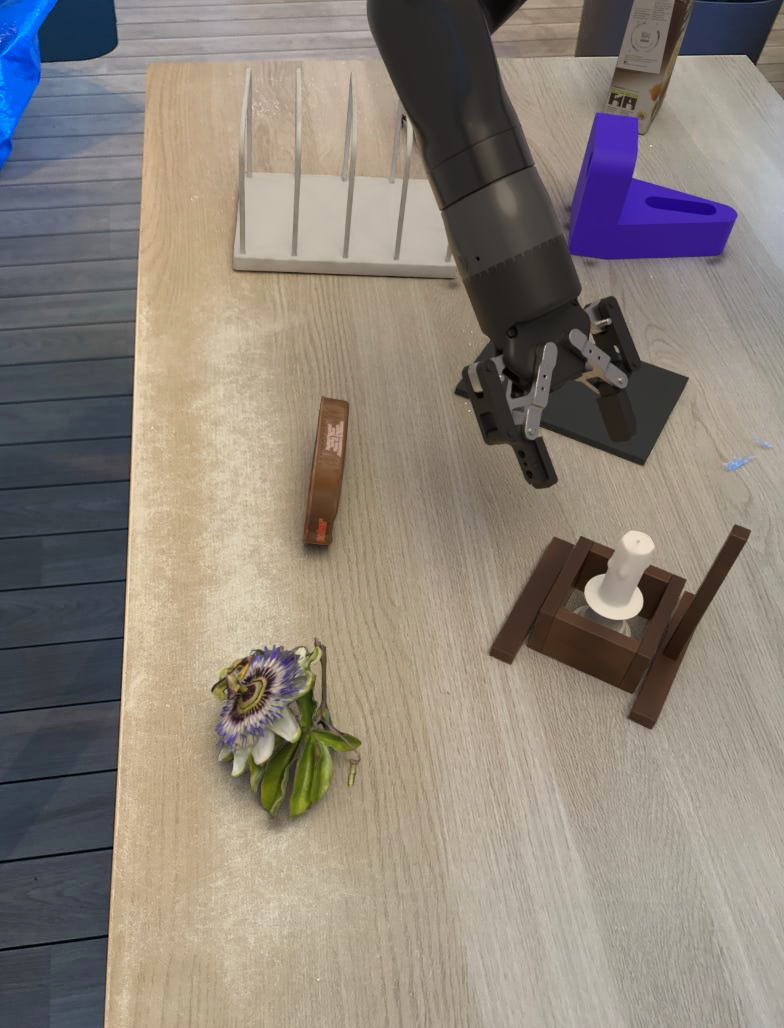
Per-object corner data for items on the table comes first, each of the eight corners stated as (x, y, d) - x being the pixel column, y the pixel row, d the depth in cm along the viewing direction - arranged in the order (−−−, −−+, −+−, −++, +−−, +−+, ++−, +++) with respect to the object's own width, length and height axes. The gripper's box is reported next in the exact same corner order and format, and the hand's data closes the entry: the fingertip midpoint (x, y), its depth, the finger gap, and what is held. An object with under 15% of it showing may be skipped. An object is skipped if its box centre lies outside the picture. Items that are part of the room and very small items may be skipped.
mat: (686, 383, 102) (689, 377, 102) (643, 466, 95) (646, 460, 95) (508, 319, 108) (509, 313, 107) (454, 393, 101) (455, 387, 100)
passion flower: (240, 767, 81) (217, 630, 77) (372, 758, 80) (356, 617, 76) (215, 840, 71) (187, 686, 67) (366, 831, 69) (347, 672, 65)
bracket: (567, 253, 115) (594, 154, 106) (571, 202, 121) (597, 104, 112) (725, 275, 113) (767, 177, 104) (721, 223, 120) (760, 125, 110)
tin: (314, 444, 96) (317, 374, 89) (346, 447, 96) (352, 377, 89) (299, 563, 87) (302, 496, 80) (335, 566, 87) (340, 500, 80)
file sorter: (233, 272, 111) (227, 134, 99) (241, 187, 122) (237, 52, 109) (455, 279, 112) (478, 142, 99) (445, 194, 122) (465, 60, 109)
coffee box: (645, 136, 131) (687, 2, 118) (599, 124, 133) (634, -10, 119) (663, 105, 136) (704, -26, 123) (617, 94, 137) (653, -37, 124)
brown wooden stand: (702, 608, 85) (780, 475, 72) (651, 729, 78) (727, 606, 65) (551, 544, 89) (598, 407, 76) (488, 654, 82) (529, 524, 69)
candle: (618, 666, 82) (664, 574, 72) (557, 640, 83) (594, 546, 73) (638, 621, 84) (686, 527, 74) (579, 596, 86) (618, 500, 76)
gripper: (467, 272, 64) (553, 499, 69) (616, 202, 70) (688, 417, 74) (405, 301, 71) (487, 506, 75) (545, 235, 76) (615, 431, 81)
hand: (586, 462), depth 75 cm, fingers open, 8 cm apart
